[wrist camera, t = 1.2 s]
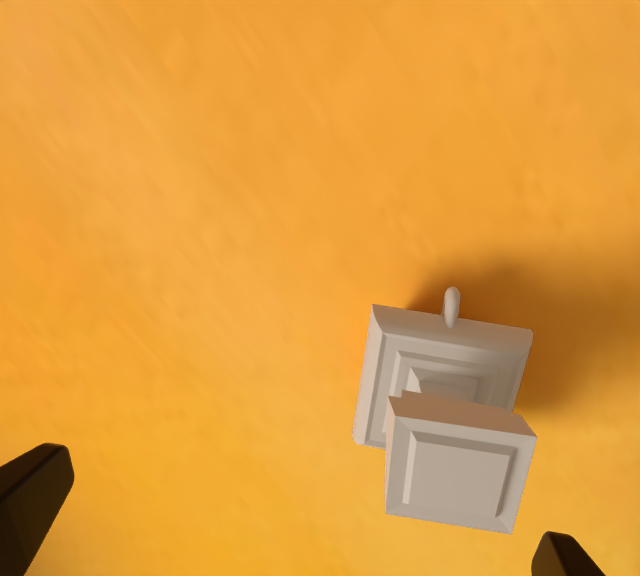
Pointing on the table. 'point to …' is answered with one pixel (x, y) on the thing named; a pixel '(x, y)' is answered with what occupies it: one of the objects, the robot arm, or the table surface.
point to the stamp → (446, 414)
